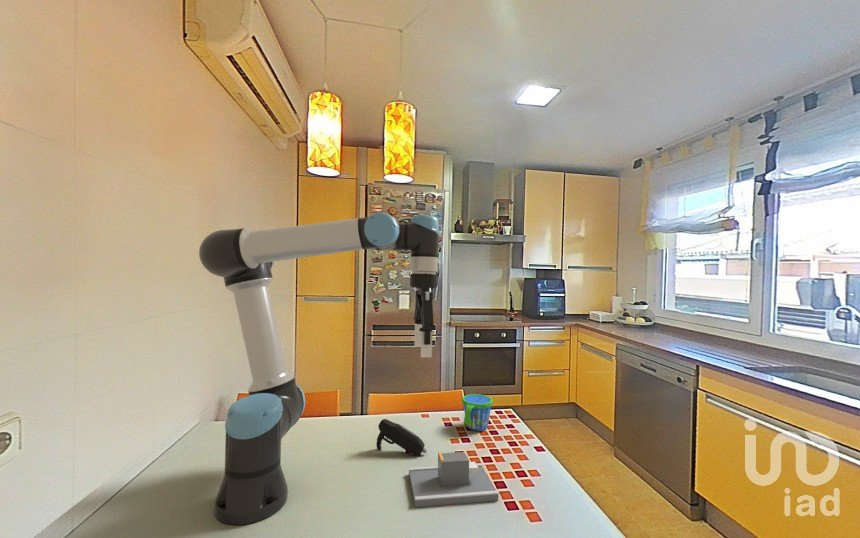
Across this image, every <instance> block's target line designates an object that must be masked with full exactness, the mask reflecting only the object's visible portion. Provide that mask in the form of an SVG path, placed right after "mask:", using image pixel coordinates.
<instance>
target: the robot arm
mask: <svg viewBox="0 0 860 538" xmlns="http://www.w3.org/2000/svg"><path fill="white" fill-rule="evenodd" d="M439 240H440V232H439V219H438V218H437V217H436V216H433V215H427V214H425V215H424V214H420V215H419V214H417V215H413V216H412V217H411V220H410V222H408V223H403V222H398V221H397V220H396V219H395V218H394V217H393V216H392V215H390V214H388V213H386V212H375V213H372V214H371V215H370V216H366V217H365V216H364V217H357V218H350V219H349V218H347V219H342V220H341V219H340V220H332V221H326V222H325V221H324V222H319V223H318V222H317V223H311V224H302V225H295V226H287V227H278V228H277V227H276V228H271V229H263V230H256V231H255V230H253V229H251V228H249V227H245V228H244V227H243V228H234V229H223V230H222V229H221V230H217V231H214V232H210V234H208V235H207V236H206V237H204V239H203V240H202V242H201V243H200V246H199V249H198V250H199V252H198V257H199V260H200V262H201V264H202V266H203V268H204V269H206V270H207V271H208V272H209V273H211V274H212V275H214V276H216V277H217V276H218V277H221V278H223V281H224V285H225V289H226V290H229V291H230V292H231V293H233V297H234V300H235V306H236V310H237V316H238V320H239V323H240V330H241V332H242V337H243V342H244V347H245V351H246V355H247V360H248V365H249V370H250V374H251V379H252V382H251V384H250V386H249V387H248V388H247V390H248V391H247V392H248V396H243V397H241V398H239V399H237V400H236V401H235V402H233V403H232V404H231V405H230V406H229V408H228V410H227V412H226V420H225V425H224V428H225V444H224V447H225V448H224V449H225V450H224V476H223V478H222V481H221V484H220V486H219V489H218V492H217V495H216V498H215V500H214V516H215V518H216V519H217V521H218V522H221V523H222V524H225V525H233V526H240V525H241V526H242V525H248V524H253V523H257V522H260V521H263V520H265V519H268V518H269V517H271V516H273V515H274V514H276V513H277V512H279V511H280V510H281V509H282V508H283V507H284V506H285V504H286V503H287V501H288V495H289V494H288V492H289V491H288V490H289V489H288V483H287V481H286V480H287V479H286V478H285V474H284V472H283V468H282V465H281V460H282V459H281V458H282V457H281V456H282V455H281V454H282V439H283V438H284V436H285V435H286V434H287V433H288V432H289V431H290V430H291V428H292V427H294V426H295V425H296V423H298V421H299V420H300V419H301V416H302V415H303V413H304V410H305V406H306V396H305V393H304V390H303V389H302V388H301V386H299V385H298V384H297V382H296V379H295V375H294V374H292V373H290V372H289V371H288V370H287V365H286V362H285V356H284V352H283V348H282V343H281V339H280V333H279V330H278V326H277V320H276V317H275V316H276V315H275V311H274V307H273V302H272V297H271V294H270V288H269V287H270V284H271V283H272V281H273V273H272V268H273V266H274V262H278V261H279V262H280V261H286V260H295V259H300V258H301V259H302V258H311V257H317V256H324V255H331V254H340V253H345V252H355V251H360V250H361V251H362V250H370V251H377V252H382V251H388V252H389V251H391V252H393V251H394V252H395V251H396V252H398V251H402V252H409V251H410V257H409V258H410V259H409V262H410V263H409V265H410V266H409V269H410V270H409V271H410V272H411V273H410V275H409V286H410V287H411V288H415V289H416V290H415V304H414V305H415V306H414V317H413V321H414V323H415V324H414V348H420V358H421V359H423V358H432V357H433V331H434V329H435V324H434V310H433V309H434V308H433V296H434V295H433V291H430V289H436V288H438V285H439V283H438V282H439V281H438V280H439V275H438V274H436V273H438V271H439V265H441V261H439Z"/></svg>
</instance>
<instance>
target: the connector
mask: <svg viewBox="0 0 860 538" xmlns="http://www.w3.org/2000/svg"><path fill="white" fill-rule="evenodd" d="M437 453H438V454H437V466H438V479H439V482H440V485H441V487H446V486H460V485H469V474H474V473H478V466H477V465H476V464H477V463H476V461H470V460H469V457H468V456H467V454H466V452H465V451H460V452H459V451H456V452H441V451H438V452H437Z"/></svg>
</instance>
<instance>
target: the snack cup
mask: <svg viewBox="0 0 860 538" xmlns="http://www.w3.org/2000/svg"><path fill="white" fill-rule="evenodd" d="M493 401H494V400H493V399H492V397H490V396H488V395H486V394H480V393H479V394H478V393H474V394H473V393H471V394H466V395H464V396H462V399H461V403H462V405H463V410H464V412H463V413H464V419H463V422H464V424H465V425H466V428H467V429H469V430H471V431H476V432H483V431H485V430H487V429H488V427H489V421H490V416H491V415H490V414H491V411H492V410H491V408H492V406H493V403H494V402H493Z"/></svg>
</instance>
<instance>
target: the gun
mask: <svg viewBox="0 0 860 538" xmlns="http://www.w3.org/2000/svg"><path fill="white" fill-rule="evenodd" d="M377 427H378V430H379V433H378V435H377V437H376V438H377V439H376V449H377V450H378V451H382V444H383V443H382V442H383V441H385V442H386V443H388V444H390V445H393V444H395V445H397V446H398V447H399V448H402V449H403V450H404V451H406V452H407V453H409V454H411V455H412V456H414V457H419V456H420V455H421V454H422V453H424V454H427V452H428V450H427V449H426V448H425V446H426V445H425V443H424V441H423V440H422V439H421V438H420V437H419V436H418V435H417V434H416V433H414V432H413V431H412V430H410V429H408V428H406V427H405V426H403V425H401V424H399V423H396V422H393V421H391V420H389V419H387V418H383V419H381V421H380V422H379V424H378V426H377Z"/></svg>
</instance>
